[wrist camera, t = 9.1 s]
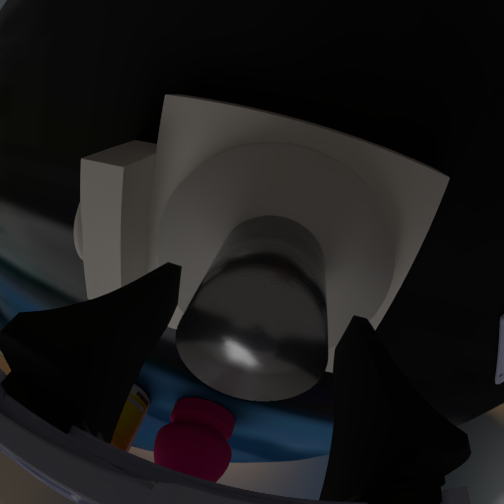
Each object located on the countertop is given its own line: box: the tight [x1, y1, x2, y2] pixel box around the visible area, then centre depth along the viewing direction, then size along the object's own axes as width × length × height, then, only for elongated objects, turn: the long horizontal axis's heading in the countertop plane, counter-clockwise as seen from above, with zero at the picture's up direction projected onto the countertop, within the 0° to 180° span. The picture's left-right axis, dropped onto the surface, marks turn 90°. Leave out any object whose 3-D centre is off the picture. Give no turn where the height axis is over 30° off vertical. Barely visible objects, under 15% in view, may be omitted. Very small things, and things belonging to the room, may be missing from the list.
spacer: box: [176, 215, 328, 401], centre depth 12 cm, size 5×5×6 cm
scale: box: [74, 94, 450, 373], centre depth 15 cm, size 17×14×5 cm
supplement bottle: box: [110, 383, 150, 452], centre depth 24 cm, size 6×6×10 cm
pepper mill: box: [154, 397, 235, 483], centre depth 19 cm, size 7×7×20 cm
